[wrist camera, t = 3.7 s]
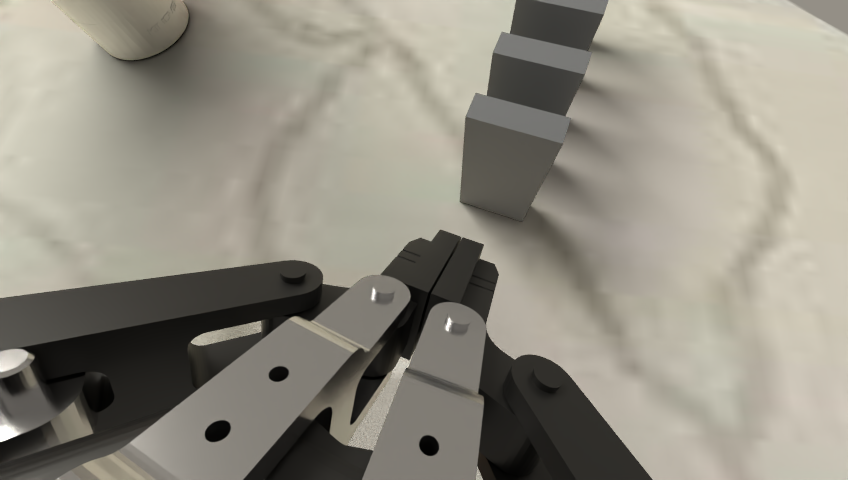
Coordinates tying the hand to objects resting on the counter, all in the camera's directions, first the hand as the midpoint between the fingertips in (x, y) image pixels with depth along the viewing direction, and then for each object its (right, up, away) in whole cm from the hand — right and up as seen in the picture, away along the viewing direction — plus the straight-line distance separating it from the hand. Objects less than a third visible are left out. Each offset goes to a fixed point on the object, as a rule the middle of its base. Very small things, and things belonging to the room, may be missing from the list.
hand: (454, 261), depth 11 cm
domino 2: (+6, +8, +17) cm, 19 cm away
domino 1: (+8, +12, +18) cm, 23 cm away
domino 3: (+4, +4, +15) cm, 16 cm away
